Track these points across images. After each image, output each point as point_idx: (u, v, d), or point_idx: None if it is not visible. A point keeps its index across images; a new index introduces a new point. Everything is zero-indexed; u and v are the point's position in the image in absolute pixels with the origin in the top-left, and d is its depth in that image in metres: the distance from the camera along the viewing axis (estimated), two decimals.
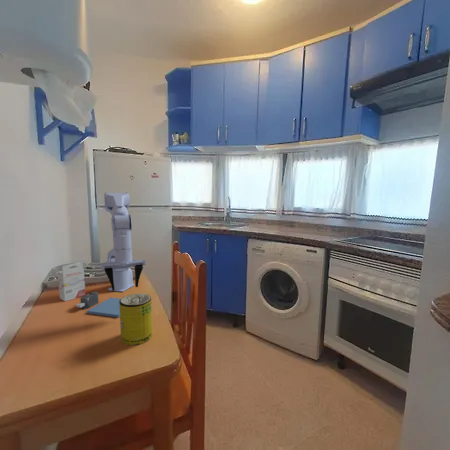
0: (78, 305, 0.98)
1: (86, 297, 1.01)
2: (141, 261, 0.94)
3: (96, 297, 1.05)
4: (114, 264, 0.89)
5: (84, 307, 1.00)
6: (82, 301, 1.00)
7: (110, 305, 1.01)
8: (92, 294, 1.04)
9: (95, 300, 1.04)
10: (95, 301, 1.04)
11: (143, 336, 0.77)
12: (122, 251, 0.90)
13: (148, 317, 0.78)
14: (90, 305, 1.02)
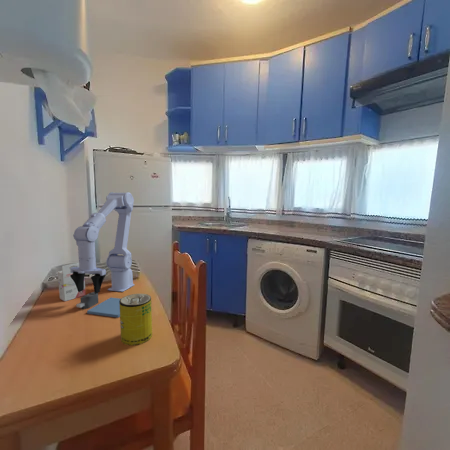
0: (78, 305, 0.98)
1: (86, 297, 1.01)
2: (98, 271, 0.99)
3: (96, 297, 1.05)
4: (76, 270, 1.01)
5: (84, 307, 1.00)
6: (82, 301, 1.00)
7: (110, 305, 1.01)
8: (92, 294, 1.04)
9: (95, 300, 1.04)
10: (95, 301, 1.04)
11: (143, 336, 0.77)
12: (80, 260, 0.99)
13: (148, 317, 0.78)
14: (90, 305, 1.02)
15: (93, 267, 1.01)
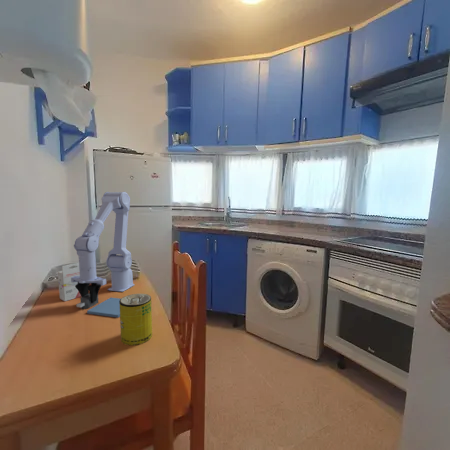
0: (78, 305, 0.98)
1: (86, 297, 1.01)
2: (99, 281, 1.00)
3: None
4: (77, 280, 1.01)
5: (84, 307, 1.00)
6: (82, 301, 1.00)
7: (110, 305, 1.01)
8: None
9: None
10: (95, 301, 1.04)
11: (143, 336, 0.77)
12: (81, 270, 0.99)
13: (148, 317, 0.78)
14: (90, 305, 1.02)
15: (94, 277, 1.01)
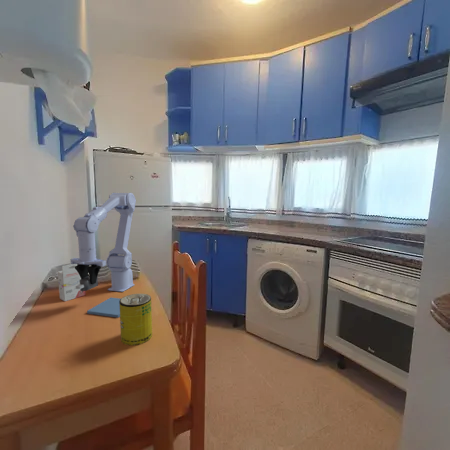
0: (77, 286, 0.97)
1: (85, 279, 1.00)
2: (98, 262, 0.99)
3: None
4: (77, 261, 1.00)
5: (83, 289, 0.99)
6: (81, 283, 0.98)
7: (110, 305, 1.01)
8: None
9: None
10: (95, 283, 1.03)
11: (143, 336, 0.77)
12: (80, 251, 0.98)
13: (148, 317, 0.78)
14: (89, 287, 1.01)
15: (93, 258, 1.00)
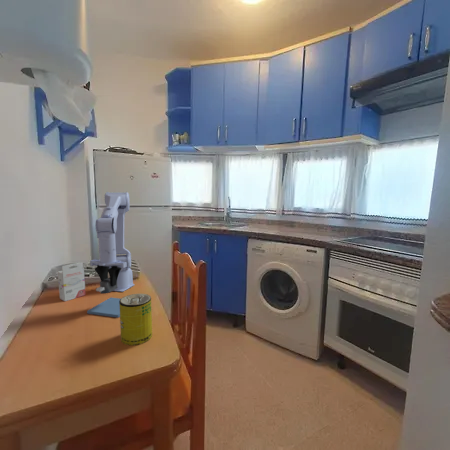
0: (98, 289, 0.95)
1: (105, 281, 0.98)
2: (119, 264, 0.97)
3: None
4: (97, 263, 0.98)
5: (104, 291, 0.96)
6: (102, 285, 0.96)
7: (110, 305, 1.01)
8: None
9: None
10: (115, 286, 1.01)
11: (143, 336, 0.77)
12: (101, 253, 0.96)
13: (148, 317, 0.78)
14: (110, 290, 0.98)
15: (114, 259, 0.98)
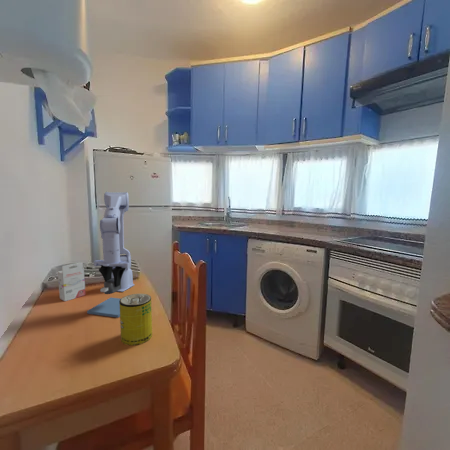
0: (102, 290, 0.94)
1: (109, 282, 0.97)
2: (123, 264, 0.96)
3: None
4: (101, 263, 0.98)
5: (108, 292, 0.96)
6: (106, 286, 0.96)
7: (110, 305, 1.01)
8: None
9: None
10: (119, 286, 1.01)
11: (143, 336, 0.77)
12: (105, 253, 0.96)
13: (148, 317, 0.78)
14: (114, 290, 0.98)
15: (118, 260, 0.98)
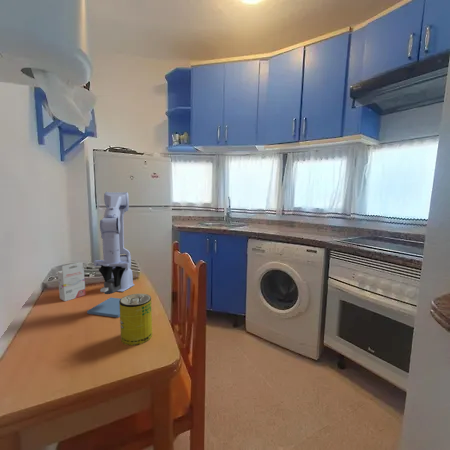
0: (102, 290, 0.94)
1: (109, 282, 0.97)
2: (123, 264, 0.96)
3: None
4: (101, 263, 0.98)
5: (108, 292, 0.96)
6: (106, 286, 0.96)
7: (110, 305, 1.01)
8: None
9: None
10: (119, 286, 1.01)
11: (143, 336, 0.77)
12: (105, 253, 0.96)
13: (148, 317, 0.78)
14: (114, 290, 0.98)
15: (118, 260, 0.98)
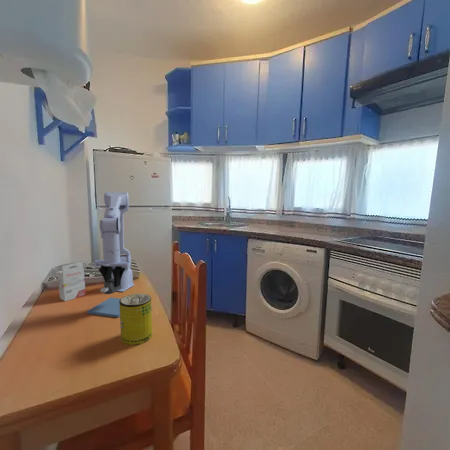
0: (102, 290, 0.94)
1: (109, 282, 0.97)
2: (123, 264, 0.96)
3: None
4: (101, 263, 0.98)
5: (108, 292, 0.96)
6: (106, 286, 0.96)
7: (110, 305, 1.01)
8: None
9: None
10: (119, 286, 1.01)
11: (143, 336, 0.77)
12: (105, 253, 0.96)
13: (148, 317, 0.78)
14: (114, 290, 0.98)
15: (118, 260, 0.98)
